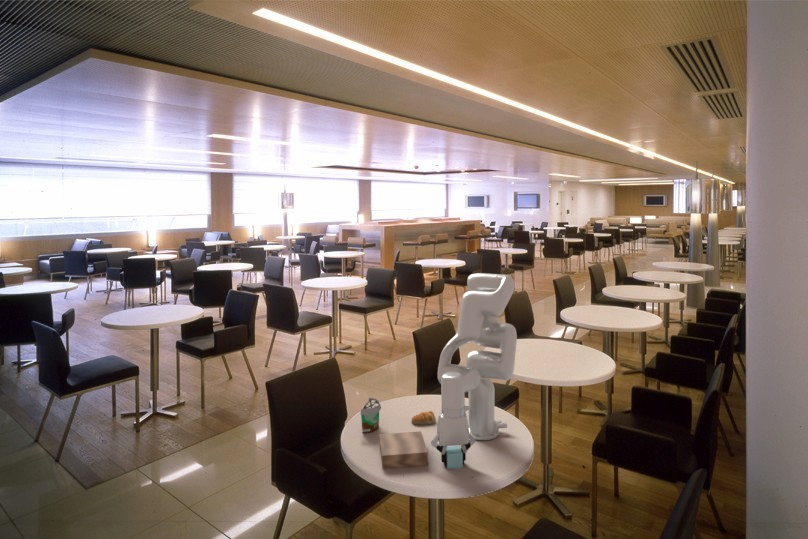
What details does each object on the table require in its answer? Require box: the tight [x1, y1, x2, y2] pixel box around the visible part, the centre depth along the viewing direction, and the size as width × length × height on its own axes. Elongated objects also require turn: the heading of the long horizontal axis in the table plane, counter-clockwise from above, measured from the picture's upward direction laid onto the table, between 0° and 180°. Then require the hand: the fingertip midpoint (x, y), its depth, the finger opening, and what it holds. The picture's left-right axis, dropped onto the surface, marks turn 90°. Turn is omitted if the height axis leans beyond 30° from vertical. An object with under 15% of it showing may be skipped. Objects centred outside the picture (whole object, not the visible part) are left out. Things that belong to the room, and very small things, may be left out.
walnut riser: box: [378, 430, 429, 470], centre depth 164 cm, size 15×15×4 cm
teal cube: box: [445, 445, 464, 470], centre depth 158 cm, size 5×5×5 cm
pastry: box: [411, 410, 437, 426], centre depth 190 cm, size 9×7×4 cm
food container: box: [360, 397, 382, 434], centre depth 184 cm, size 12×6×10 cm, turn 168°
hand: (453, 462), depth 158 cm, fingers open, 5 cm apart
